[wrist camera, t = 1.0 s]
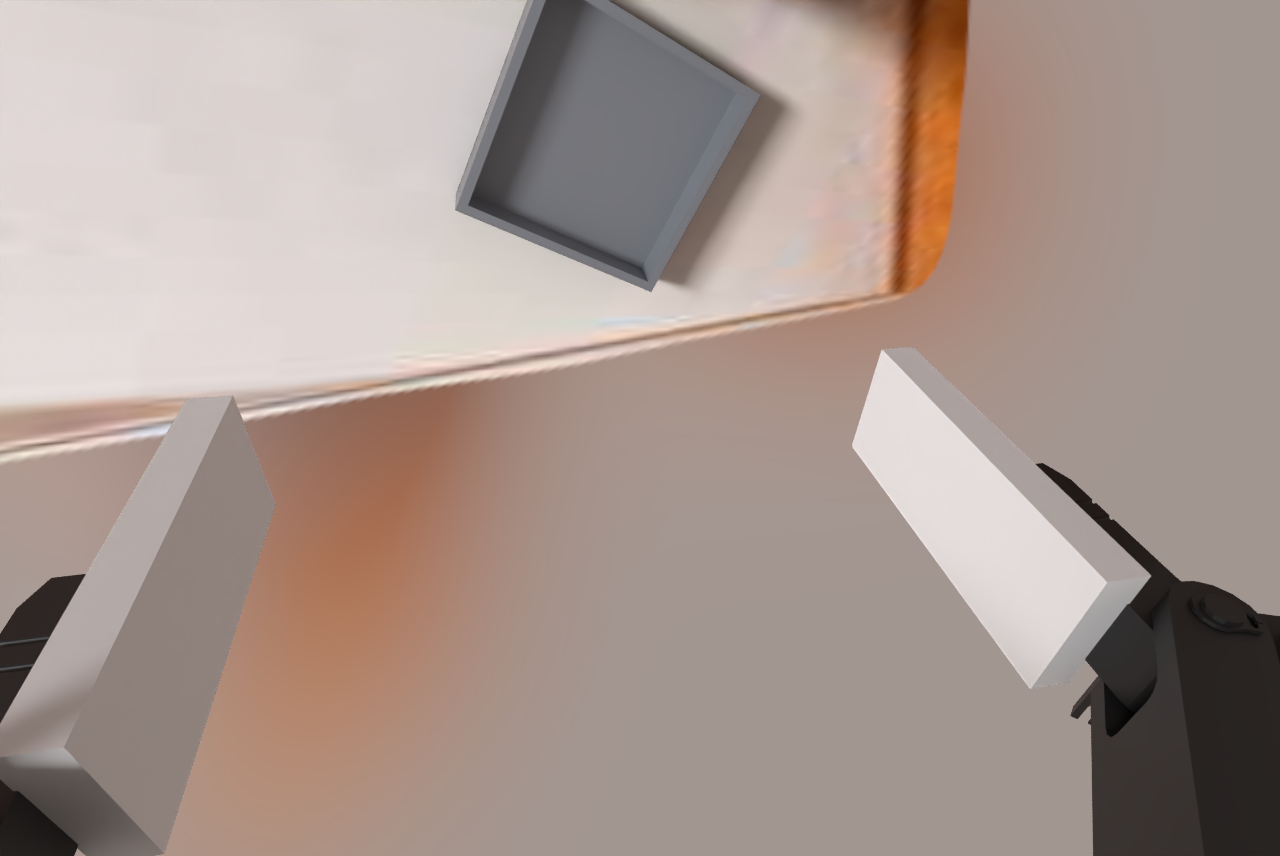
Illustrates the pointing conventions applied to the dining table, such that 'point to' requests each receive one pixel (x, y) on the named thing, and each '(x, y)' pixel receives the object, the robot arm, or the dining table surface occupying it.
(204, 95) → the dining table surface
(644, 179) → the tray
